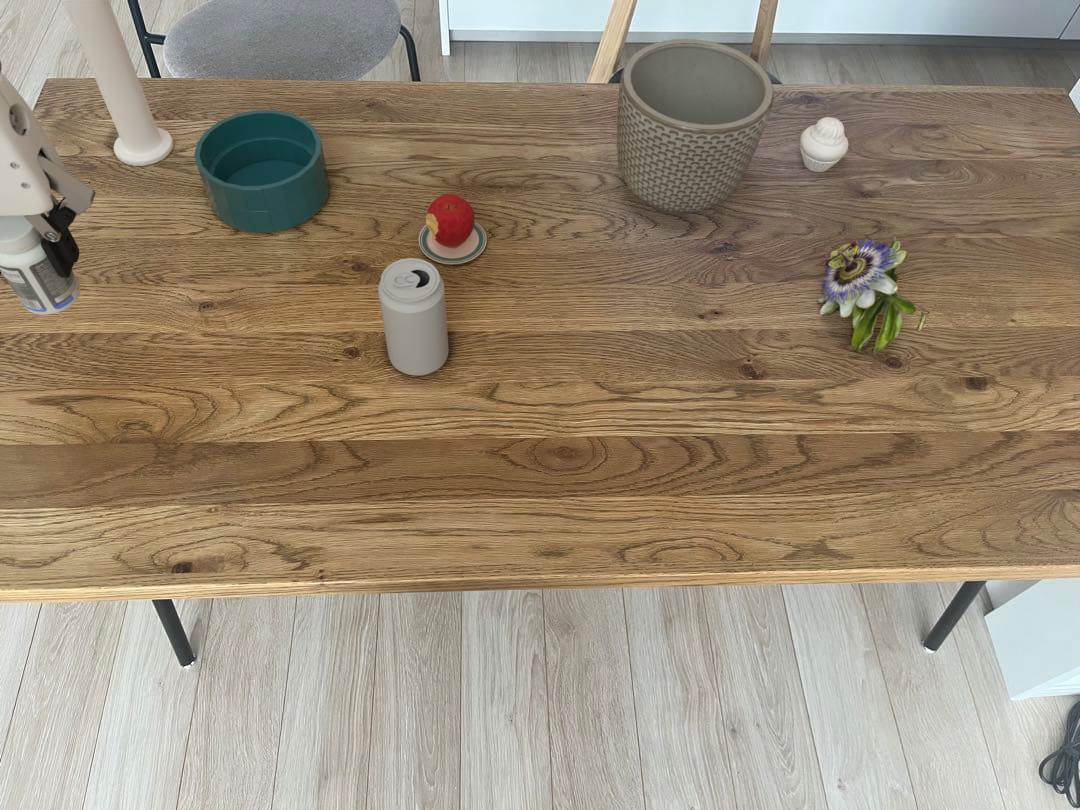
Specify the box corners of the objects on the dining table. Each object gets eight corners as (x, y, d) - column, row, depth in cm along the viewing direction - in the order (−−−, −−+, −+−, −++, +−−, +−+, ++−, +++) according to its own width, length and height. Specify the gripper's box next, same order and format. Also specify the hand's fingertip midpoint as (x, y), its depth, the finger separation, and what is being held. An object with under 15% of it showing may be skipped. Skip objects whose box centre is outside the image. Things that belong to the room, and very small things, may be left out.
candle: (114, 169, 108) (26, -29, 87) (116, 133, 111) (32, -64, 91) (173, 163, 109) (100, -35, 88) (173, 127, 113) (103, -69, 92)
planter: (690, 262, 103) (719, 152, 90) (577, 194, 109) (589, 81, 96) (767, 191, 111) (804, 81, 98) (658, 131, 117) (679, 20, 104)
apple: (470, 274, 100) (469, 233, 95) (407, 255, 101) (402, 213, 96) (496, 230, 104) (496, 187, 99) (435, 212, 106) (432, 169, 100)
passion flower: (810, 334, 104) (814, 233, 101) (906, 332, 103) (914, 229, 99) (824, 360, 94) (829, 249, 90) (931, 358, 92) (941, 245, 88)
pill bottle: (77, 269, 76) (37, 196, 69) (85, 307, 74) (45, 234, 67) (19, 284, 75) (-28, 210, 68) (25, 323, 73) (-22, 250, 66)
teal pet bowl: (203, 236, 102) (186, 190, 96) (219, 157, 110) (204, 110, 104) (326, 234, 103) (316, 188, 97) (333, 156, 111) (324, 109, 105)
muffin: (847, 164, 115) (866, 119, 109) (824, 186, 112) (842, 142, 106) (807, 143, 117) (824, 98, 111) (783, 164, 114) (798, 119, 108)
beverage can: (454, 373, 92) (450, 296, 82) (394, 385, 90) (383, 308, 81) (441, 328, 95) (436, 249, 85) (383, 339, 94) (371, 260, 84)
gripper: (66, 37, 59) (149, 233, 74) (-198, 34, 58) (-59, 234, 73) (37, 105, 55) (132, 298, 70) (-249, 104, 54) (-90, 301, 69)
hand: (33, 264), depth 71 cm, fingers closed on pill bottle, 4 cm apart
